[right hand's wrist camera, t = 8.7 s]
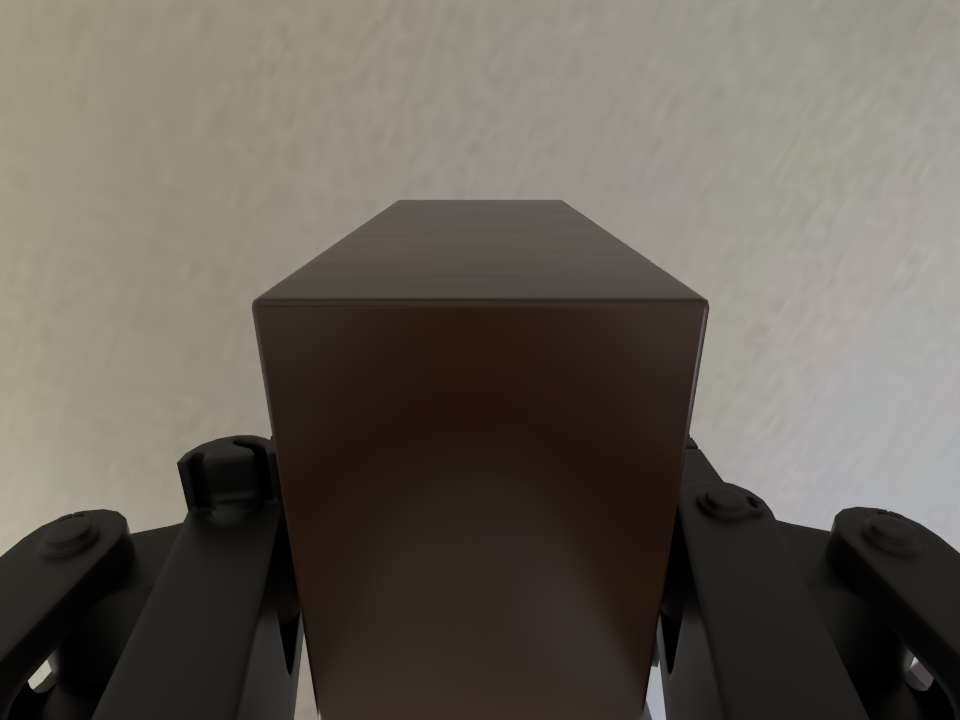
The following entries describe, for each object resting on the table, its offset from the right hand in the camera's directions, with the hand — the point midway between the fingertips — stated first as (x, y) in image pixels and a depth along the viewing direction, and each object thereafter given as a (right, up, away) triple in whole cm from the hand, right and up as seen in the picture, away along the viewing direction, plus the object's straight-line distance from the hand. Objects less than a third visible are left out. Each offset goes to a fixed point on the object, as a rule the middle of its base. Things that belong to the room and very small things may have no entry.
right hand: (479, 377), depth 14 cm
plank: (0, -8, +3) cm, 9 cm away
